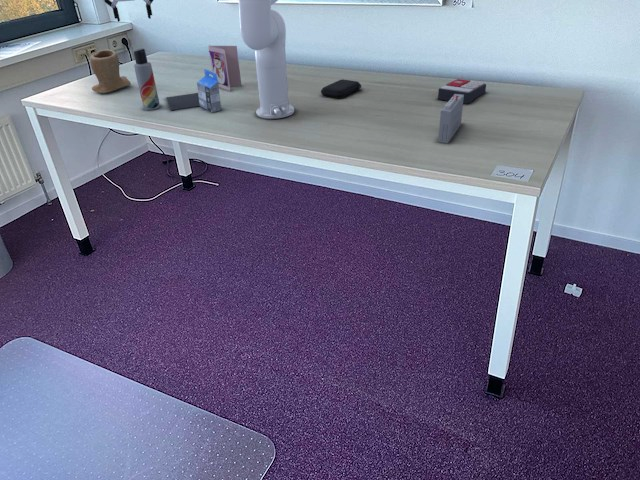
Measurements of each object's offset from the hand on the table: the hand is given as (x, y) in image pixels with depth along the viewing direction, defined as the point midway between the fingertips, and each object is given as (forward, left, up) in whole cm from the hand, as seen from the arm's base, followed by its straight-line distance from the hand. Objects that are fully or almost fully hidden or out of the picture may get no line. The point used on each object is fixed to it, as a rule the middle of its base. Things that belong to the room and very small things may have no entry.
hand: (134, 19), depth 169 cm
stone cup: (+30, +13, -29) cm, 44 cm away
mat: (0, -12, -29) cm, 32 cm away
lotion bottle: (-1, +1, -29) cm, 29 cm away
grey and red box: (-40, -100, -29) cm, 112 cm away
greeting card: (+12, -29, -29) cm, 43 cm away
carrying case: (-17, -65, -29) cm, 74 cm away
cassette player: (-68, -78, -29) cm, 108 cm away
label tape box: (-12, -18, -29) cm, 36 cm away
